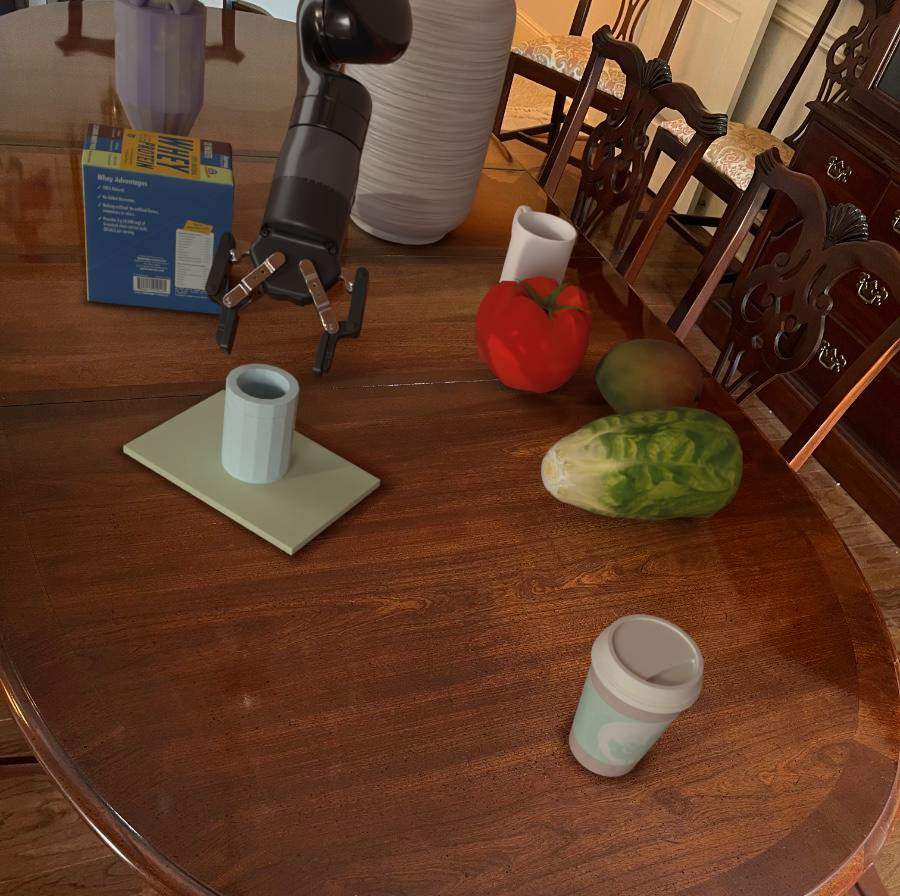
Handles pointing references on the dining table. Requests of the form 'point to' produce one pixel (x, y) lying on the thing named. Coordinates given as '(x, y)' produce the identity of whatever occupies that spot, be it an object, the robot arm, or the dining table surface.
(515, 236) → the mug
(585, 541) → the dining table surface
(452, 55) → the vase
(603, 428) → the lettuce
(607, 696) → the coffee cup
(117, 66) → the decorative object
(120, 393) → the dining table surface
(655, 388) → the fruit
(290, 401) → the cylindrical container
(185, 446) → the mat
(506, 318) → the tomato
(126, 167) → the protein box
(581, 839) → the dining table surface
